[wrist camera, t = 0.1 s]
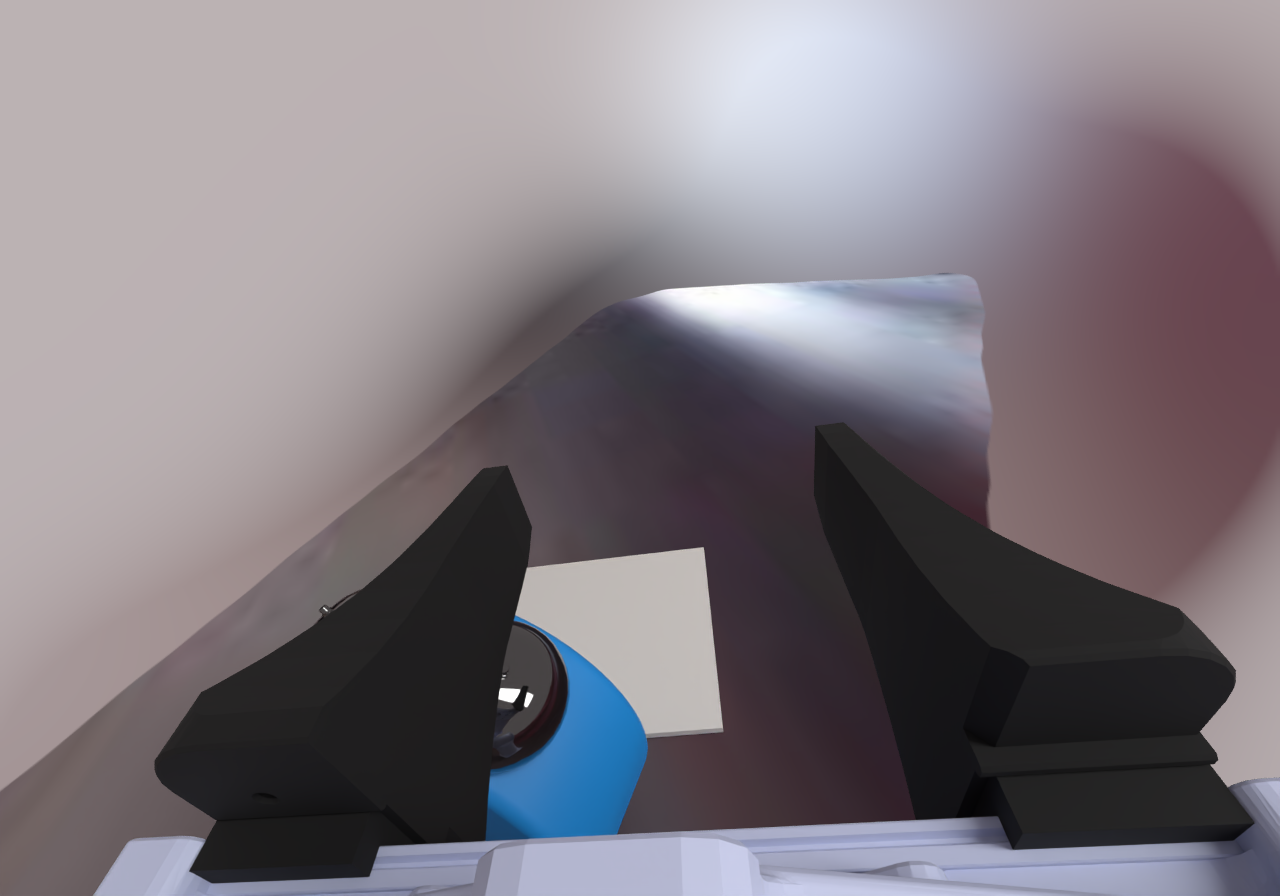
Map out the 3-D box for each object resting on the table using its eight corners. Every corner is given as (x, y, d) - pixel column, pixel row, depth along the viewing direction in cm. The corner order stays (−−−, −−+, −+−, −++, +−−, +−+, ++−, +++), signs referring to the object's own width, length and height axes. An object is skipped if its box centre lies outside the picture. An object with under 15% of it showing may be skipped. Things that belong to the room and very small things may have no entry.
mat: (723, 732, 30) (722, 727, 30) (377, 758, 32) (374, 755, 32) (704, 551, 42) (703, 547, 41) (452, 580, 44) (451, 576, 44)
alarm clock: (672, 796, 27) (607, 600, 19) (620, 950, 23) (503, 788, 14) (468, 716, 33) (345, 537, 24) (395, 828, 28) (212, 658, 20)
